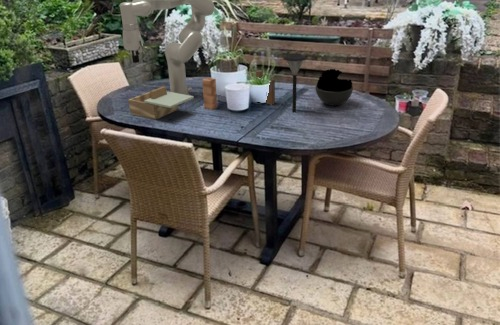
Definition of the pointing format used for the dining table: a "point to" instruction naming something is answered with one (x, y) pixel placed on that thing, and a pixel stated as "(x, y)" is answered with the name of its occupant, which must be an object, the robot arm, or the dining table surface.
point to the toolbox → (148, 108)
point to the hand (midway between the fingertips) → (136, 62)
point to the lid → (166, 98)
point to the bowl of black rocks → (333, 88)
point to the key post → (209, 93)
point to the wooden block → (271, 89)
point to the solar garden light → (294, 71)
